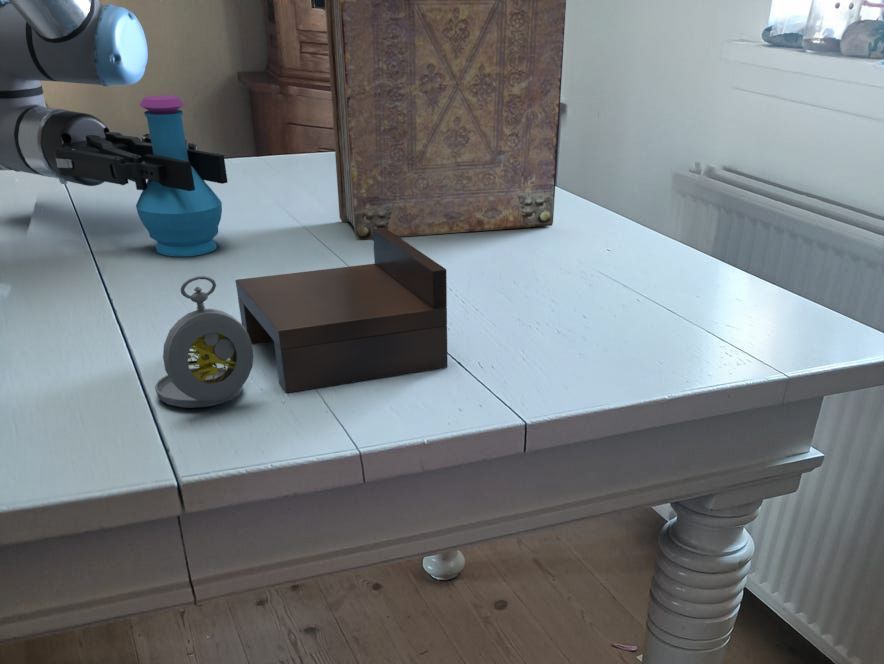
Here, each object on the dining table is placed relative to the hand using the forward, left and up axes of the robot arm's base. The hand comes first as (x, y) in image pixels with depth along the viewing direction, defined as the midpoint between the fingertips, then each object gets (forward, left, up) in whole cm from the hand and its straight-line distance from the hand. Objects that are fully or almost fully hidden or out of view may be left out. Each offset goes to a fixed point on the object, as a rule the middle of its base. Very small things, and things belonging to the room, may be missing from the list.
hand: (206, 172), depth 98 cm
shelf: (+3, -33, -9) cm, 35 cm away
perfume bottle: (-3, +5, -9) cm, 10 cm away
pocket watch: (-10, -39, -9) cm, 41 cm away
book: (+29, +4, -9) cm, 31 cm away
